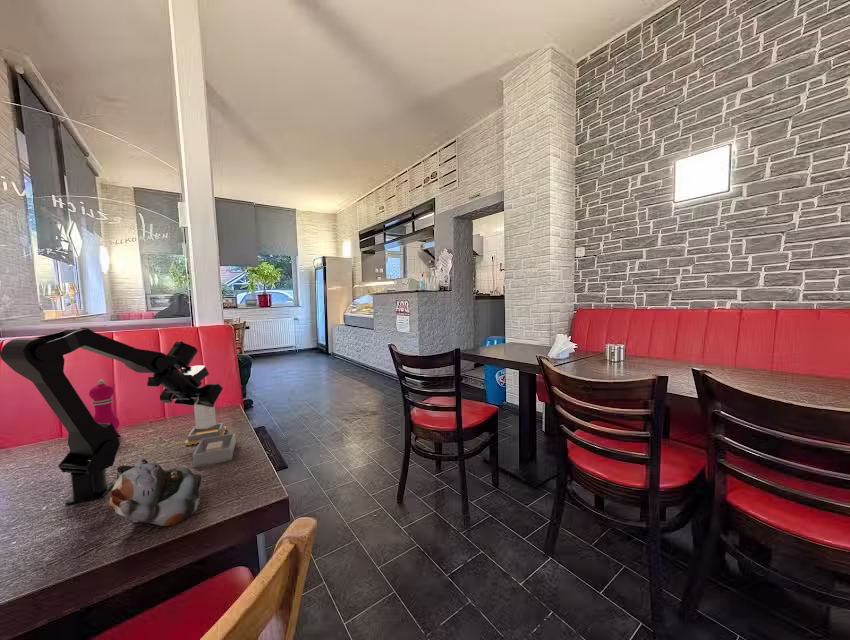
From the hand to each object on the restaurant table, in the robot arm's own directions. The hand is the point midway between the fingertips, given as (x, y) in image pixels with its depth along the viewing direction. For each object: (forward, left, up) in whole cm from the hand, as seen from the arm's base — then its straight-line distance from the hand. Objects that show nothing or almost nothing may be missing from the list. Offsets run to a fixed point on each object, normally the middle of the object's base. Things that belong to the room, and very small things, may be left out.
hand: (207, 405), depth 112 cm
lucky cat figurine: (-46, +2, -10) cm, 47 cm away
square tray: (-1, +1, -10) cm, 10 cm away
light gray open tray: (-18, -4, -10) cm, 21 cm away
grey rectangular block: (-1, +1, -7) cm, 7 cm away
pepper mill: (+14, +32, -10) cm, 36 cm away
